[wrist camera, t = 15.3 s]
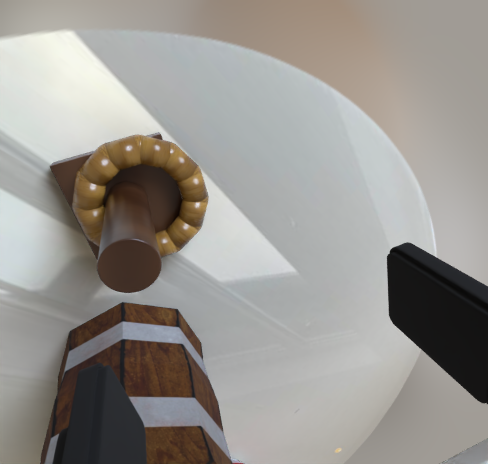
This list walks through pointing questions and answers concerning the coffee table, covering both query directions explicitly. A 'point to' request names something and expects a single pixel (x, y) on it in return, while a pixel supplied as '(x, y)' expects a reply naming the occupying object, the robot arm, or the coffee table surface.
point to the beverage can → (236, 461)
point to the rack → (128, 220)
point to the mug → (148, 382)
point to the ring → (131, 154)
